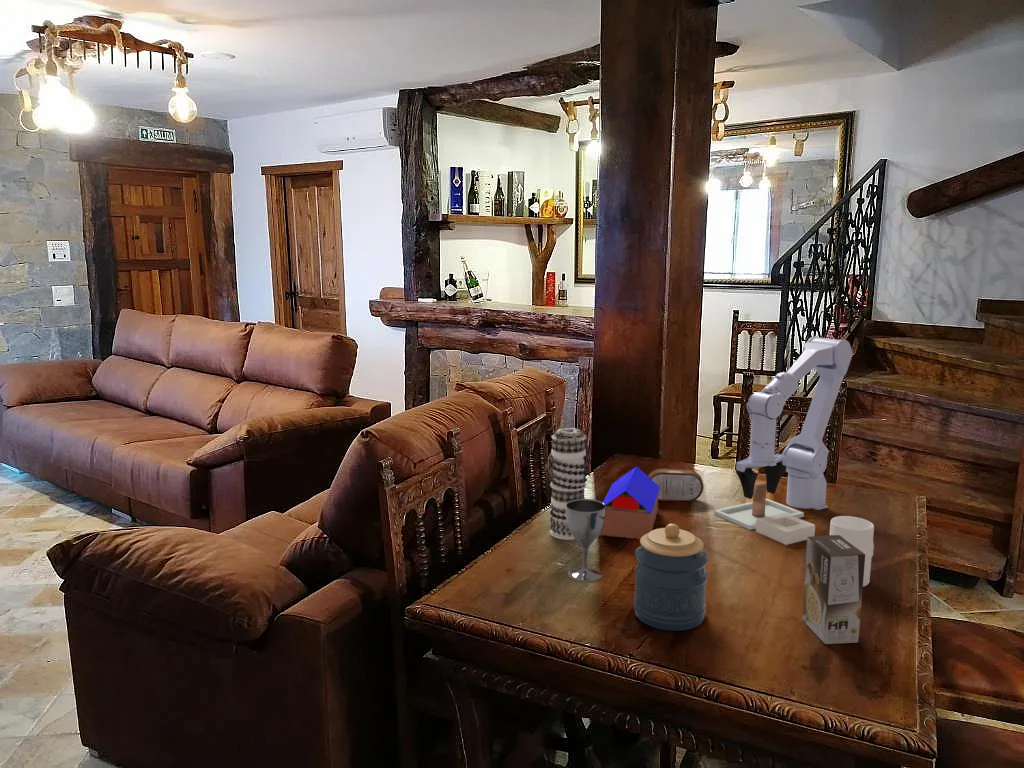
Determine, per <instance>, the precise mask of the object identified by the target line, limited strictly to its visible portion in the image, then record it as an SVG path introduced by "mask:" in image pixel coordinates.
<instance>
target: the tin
mask: <svg viewBox="0 0 1024 768" xmlns="http://www.w3.org/2000/svg"><path fill="white" fill-rule="evenodd" d="M647 476H648V477H649V478H650V479H651V480H652V481H653V482H655V483H656V484H657V485H658V486H659V487H660V489H659V492H658V501H659V500H660V502H680V501H689V502H688V503H690V502H694V501H697V500H698V499H699V498H700V497H701V496H702V494H703V492H704V487H705V486H704V482H703V481H704V480H703V479H702V477H701V475H700V474H699V473H698V472H697V471H694V470H693V469H678V468H677V469H675V468H657V469H654V470H653V471H651V472H650V473H649V474H648V475H647Z"/></svg>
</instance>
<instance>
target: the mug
mask: <svg viewBox="0 0 1024 768" xmlns="http://www.w3.org/2000/svg"><path fill="white" fill-rule="evenodd" d="M829 522H830V524H829V525H830V526H829V535H840V536H841V537H843V538H844V539H845V540H847V541H848V542H849V543H851V544H852V545H853V546H855V547H856V548H857V549H859V550H860V551H861V552H863V553H864V554H865V565H864V578H863V588H864V587H866V586H868V585H869V583H870V578H871V569H872V558H873V557H874V549H875V548H874V547H875V544H874V543H875V542H874V535H875V534H874V532H875V526H874V523H872V522H871V521H870V520H868V519H865V518H861V517H857V516H851V515H839V516H835V517H832V518H831V520H830V521H829Z"/></svg>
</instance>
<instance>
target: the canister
mask: <svg viewBox="0 0 1024 768" xmlns="http://www.w3.org/2000/svg"><path fill="white" fill-rule="evenodd" d="M639 544H640V545H639V546H638V547H637V548H636V549H635V551H634V555H635V558H636V560H637V564H636V565H635V567H634V574H635V578H634V579H635V580H634V581H635V582H634V583H635V585H634V597H633V609H634V614H635V616H636V618H637V619H638V620H640V622H642V623H644V624H645V625H647V626H649V627H651V628H655V629H657V630H662V631H671V632H680V631H682V632H683V631H688V630H693V629H695V628H697V627H699V626H700V625H701V624H702V623H703V621H704V620H705V615H706V610H707V604H706V592H707V591H706V588H707V587H706V586H707V580H708V579H707V578H708V572H707V571H706V569H705V566H706V564H707V563H708V561H709V557H708V554H707V552H705V550H704V546H705V544H704V542H703V540H702V539H700V538H699V537H697V536H695V534H693V533H692V532H690V531H689V530H688V531H687V530H684V529H681V528H680V527H679V526H678V525H677V524H676V523H668V524H667V525H666V526H665V527H660V528H656V529H652V531H651V532H649V533H647V534H645V535H644V536H642V537H641V539H639Z"/></svg>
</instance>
